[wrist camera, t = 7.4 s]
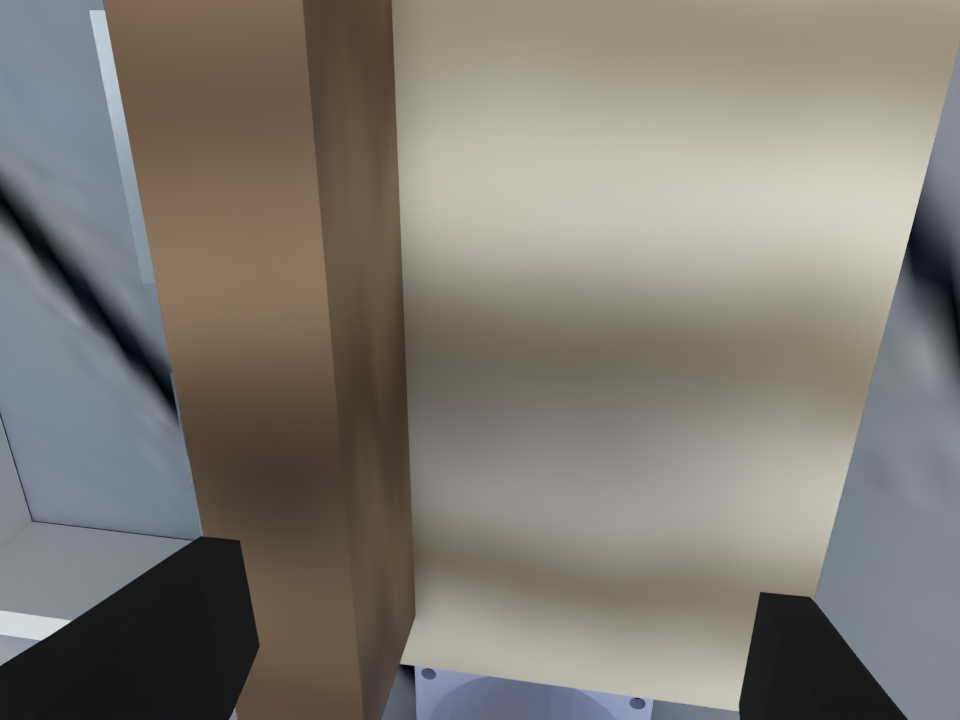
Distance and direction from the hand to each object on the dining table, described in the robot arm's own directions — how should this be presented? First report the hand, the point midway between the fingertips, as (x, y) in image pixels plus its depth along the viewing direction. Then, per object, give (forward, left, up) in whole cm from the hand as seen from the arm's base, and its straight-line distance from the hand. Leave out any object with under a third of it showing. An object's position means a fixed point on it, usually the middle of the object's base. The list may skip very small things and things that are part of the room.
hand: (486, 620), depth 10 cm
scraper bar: (+1, +5, -7) cm, 9 cm away
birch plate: (+1, -1, -10) cm, 10 cm away
